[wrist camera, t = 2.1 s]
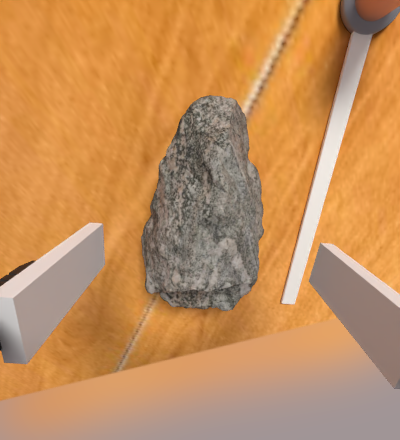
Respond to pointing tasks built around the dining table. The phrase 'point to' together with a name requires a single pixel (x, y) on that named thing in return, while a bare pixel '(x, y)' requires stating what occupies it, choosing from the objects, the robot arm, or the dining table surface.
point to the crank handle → (337, 122)
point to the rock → (205, 211)
